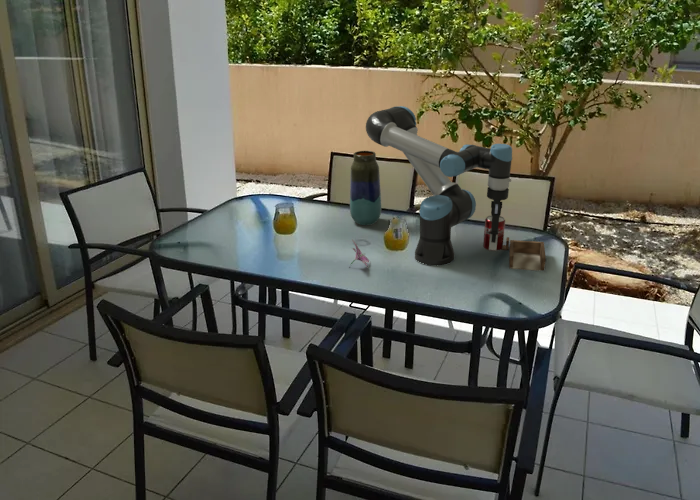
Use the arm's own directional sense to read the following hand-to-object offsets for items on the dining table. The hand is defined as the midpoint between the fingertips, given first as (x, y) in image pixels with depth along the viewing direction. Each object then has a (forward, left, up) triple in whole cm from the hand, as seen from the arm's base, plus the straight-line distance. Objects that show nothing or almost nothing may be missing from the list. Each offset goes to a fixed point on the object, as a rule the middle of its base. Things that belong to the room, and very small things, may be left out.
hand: (492, 245), depth 236 cm
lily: (-48, -16, -6) cm, 51 cm away
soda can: (0, 0, -1) cm, 1 cm away
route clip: (+4, +11, -5) cm, 13 cm away
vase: (-55, +31, -6) cm, 64 cm away
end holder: (+13, -1, -5) cm, 14 cm away
